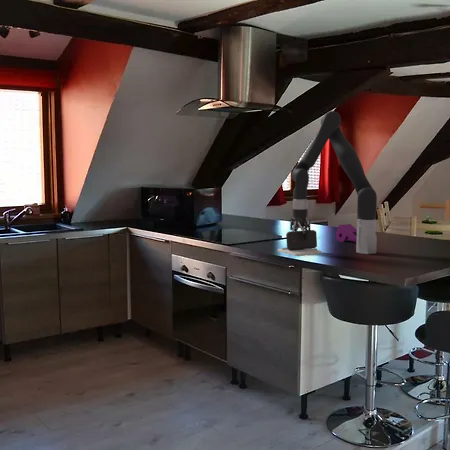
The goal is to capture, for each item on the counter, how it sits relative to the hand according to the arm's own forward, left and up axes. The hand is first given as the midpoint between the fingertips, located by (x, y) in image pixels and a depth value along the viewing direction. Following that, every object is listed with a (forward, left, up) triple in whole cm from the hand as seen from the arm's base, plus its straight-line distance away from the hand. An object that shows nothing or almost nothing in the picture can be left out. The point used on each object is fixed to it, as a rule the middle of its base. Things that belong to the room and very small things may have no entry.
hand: (300, 239), depth 278 cm
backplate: (+1, 0, -7) cm, 7 cm away
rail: (+1, 0, -5) cm, 5 cm away
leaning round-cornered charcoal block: (-1, -1, -5) cm, 5 cm away
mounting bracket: (+14, -47, -7) cm, 50 cm away
